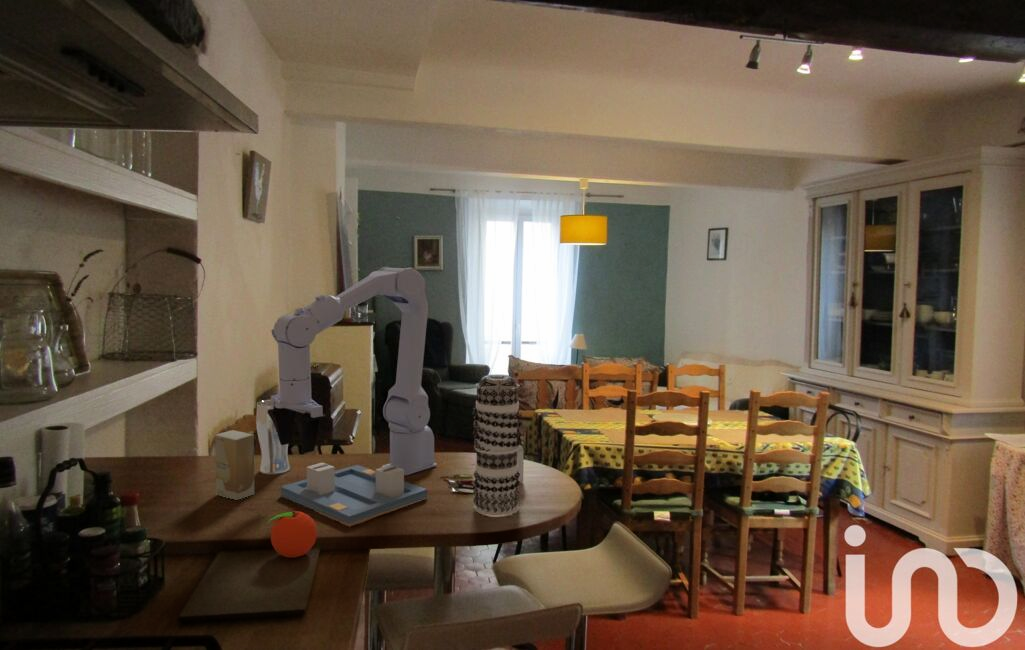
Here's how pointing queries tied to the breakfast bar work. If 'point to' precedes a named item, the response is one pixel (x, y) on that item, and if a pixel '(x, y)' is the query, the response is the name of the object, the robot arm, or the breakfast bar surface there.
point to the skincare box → (234, 464)
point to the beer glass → (270, 442)
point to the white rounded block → (520, 463)
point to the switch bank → (352, 495)
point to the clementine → (293, 534)
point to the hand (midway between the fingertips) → (297, 447)
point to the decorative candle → (496, 445)
